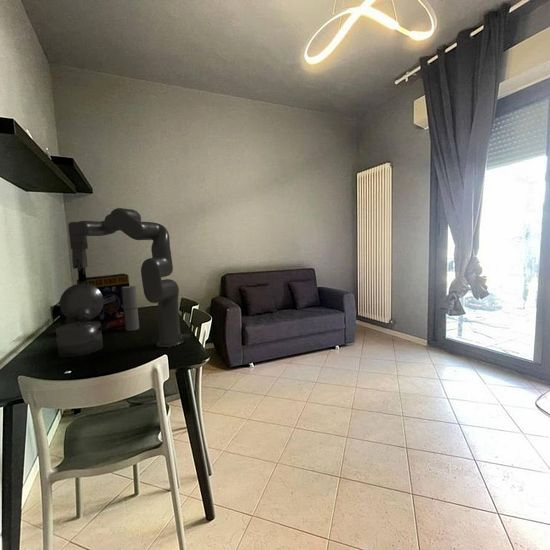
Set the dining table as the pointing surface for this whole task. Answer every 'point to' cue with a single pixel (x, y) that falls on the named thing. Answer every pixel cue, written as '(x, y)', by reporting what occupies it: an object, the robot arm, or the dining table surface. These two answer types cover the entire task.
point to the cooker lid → (81, 302)
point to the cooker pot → (78, 338)
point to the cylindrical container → (130, 308)
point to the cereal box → (110, 298)
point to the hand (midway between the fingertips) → (82, 281)
